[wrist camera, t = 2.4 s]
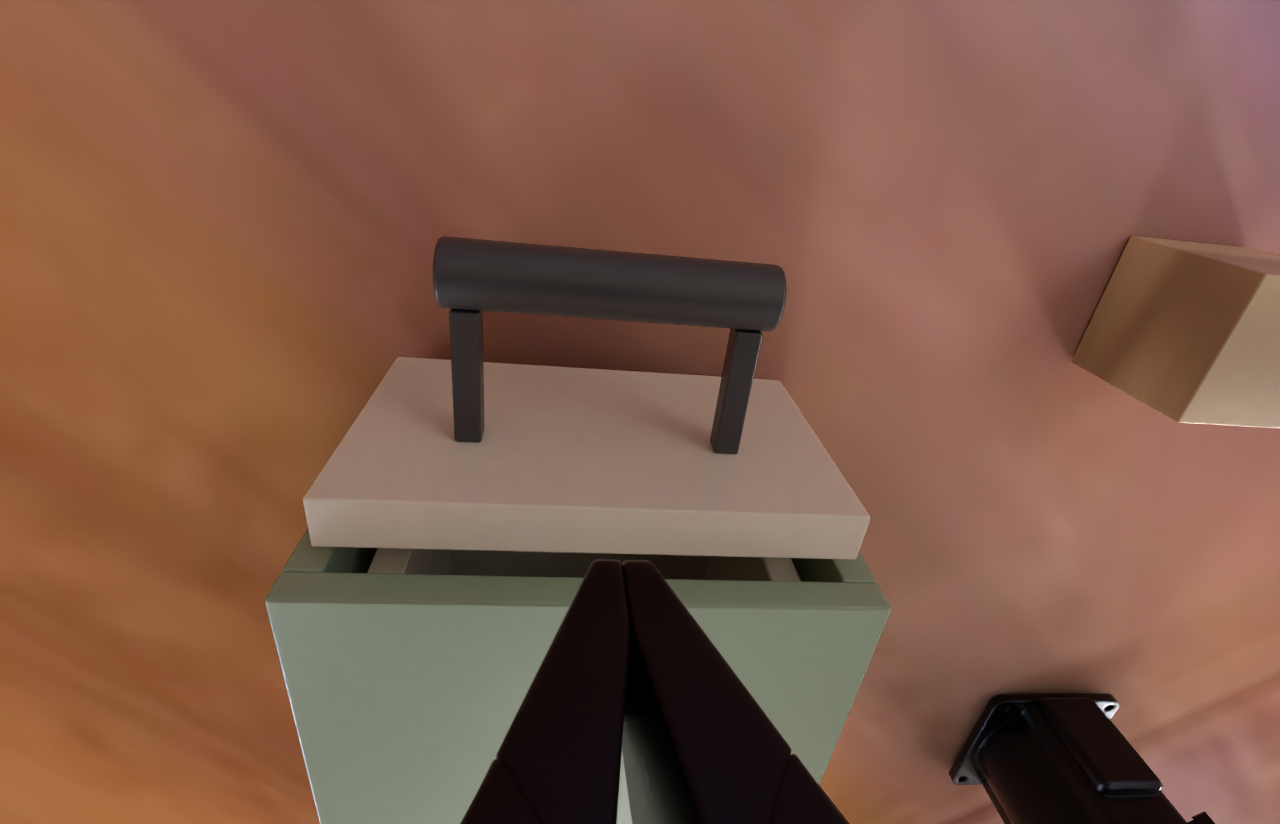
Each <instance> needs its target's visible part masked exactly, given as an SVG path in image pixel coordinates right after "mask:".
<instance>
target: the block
mask: <svg viewBox="0 0 1280 824" xmlns="http://www.w3.org/2000/svg"><path fill="white" fill-rule="evenodd" d="M1072 362H1073V363H1074V364H1076V365H1078V366H1080V367H1081V368H1083V369H1085V370H1086V371H1088V372H1090V373H1092V374H1093V375H1095V376H1097V377H1099V378H1100V379H1102V380H1104V381H1106V382H1107V383H1109V384H1111V385H1113V386H1114V387H1116V388H1118V389H1120V390H1121V391H1123V392H1125V393H1127V394H1128V395H1130V396H1132V397H1134V398H1135V399H1137V400H1139V401H1141V402H1142V403H1144V404H1146V405H1148V406H1149V407H1151V408H1153V409H1155V410H1156V411H1158V412H1160V413H1162V414H1163V415H1165V416H1167V417H1169V418H1170V419H1172V420H1174V421H1176V422H1178V423H1195V424H1212V425H1230V426H1247V427H1264V428H1280V255H1278V254H1274V253H1270V252H1266V251H1262V250H1258V249H1254V248H1250V247H1240V246H1230V245H1220V244H1210V243H1200V242H1189V241H1179V240H1169V239H1159V238H1149V237H1139V236H1131V237H1130V239H1129V241H1128V243H1127V245H1126V247H1125V249H1124V252H1123V254H1122V256H1121V258H1120V260H1119V262H1118V264H1117V266H1116V268H1115V270H1114V273H1113V275H1112V277H1111V279H1110V281H1109V283H1108V285H1107V287H1106V289H1105V292H1104V294H1103V296H1102V298H1101V300H1100V302H1099V304H1098V306H1097V308H1096V310H1095V313H1094V315H1093V317H1092V319H1091V321H1090V323H1089V325H1088V327H1087V329H1086V332H1085V334H1084V336H1083V338H1082V340H1081V342H1080V344H1079V346H1078V348H1077V350H1076V353H1075V355H1074V357H1073V359H1072Z"/></svg>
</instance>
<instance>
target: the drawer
mask: <svg viewBox="0 0 1280 824" xmlns="http://www.w3.org/2000/svg"><path fill="white" fill-rule="evenodd" d="M433 288H434V294H435V298H436V301H437V304H438V305H439V306H440V307H442V308H451V310H450V312H449V325H450V348H451V360H442V359H426V358H410V357H397V358H396V360H395V361H394V363H393V364H392V366H391V367H390V369H389V370H388V372H387V373H386V375H385V376H384V378H383V379H382V381H381V382H380V384H379V385H378V387H377V388H376V390H375V391H374V393H373V394H372V396H371V397H370V399H369V400H368V402H367V403H366V405H365V406H364V408H363V409H362V411H361V412H360V414H359V415H358V417H357V418H356V420H355V421H354V423H353V424H352V426H351V427H350V429H349V430H348V432H347V433H346V435H345V436H344V438H343V439H342V441H341V442H340V444H339V445H338V447H337V448H336V449H335V451H334V452H333V454H332V455H331V457H330V458H329V460H328V461H327V463H326V464H325V466H324V467H323V469H322V470H321V472H320V473H319V475H318V476H317V478H316V479H315V481H314V482H313V484H312V485H311V487H310V488H309V490H308V491H307V493H306V494H305V496H304V497H303V503H304V508H305V513H306V519H307V524H308V529H309V535H310V540H311V545H312V546H314V547H354V548H378V549H377V551H376V553H375V556H374V558H373V560H372V563H371V565H370V567H369V569H368V572H367V573H379V574H431V575H483V576H536V577H585V575H586V573H587V571H588V569H589V567H590V565H591V563H592V562H593V561H594V560H596V559H606V560H619V561H620V562H621V563H622V564H623V562H624V561H626V560H647V561H650V562H652V563H653V564H654V565H655V567H656V568H657V569H658V571H659V572H660V573H661V575H662V576H663V577H664V579H693V580H745V581H798V582H801V580H800V578H799V575H798V573H797V571H796V568H795V566H794V564H793V562H792V559H791V558H812V559H853V560H854V559H856V558H857V555H858V552H859V549H860V547H861V544H862V541H863V538H864V535H865V532H866V530H867V527H868V524H869V521H870V515H869V514H868V512H867V511H866V509H865V508H864V506H863V505H862V503H861V502H860V500H859V499H858V497H857V496H856V494H855V493H854V491H853V490H852V488H851V487H850V485H849V484H848V482H847V481H846V479H845V478H844V476H843V475H842V473H841V472H840V470H839V469H838V467H837V466H836V464H835V463H834V461H833V460H832V458H831V457H830V455H829V454H828V452H827V451H826V449H825V448H824V446H823V445H822V443H821V442H820V440H819V439H818V437H817V436H816V434H815V433H814V431H813V430H812V428H811V427H810V425H809V424H808V422H807V421H806V419H805V418H804V416H803V415H802V413H801V412H800V410H799V408H798V407H797V405H796V404H795V402H794V401H793V399H792V398H791V396H790V395H789V393H788V392H787V390H786V389H785V387H784V386H783V384H782V383H781V381H779V380H767V379H754V374H755V369H756V365H757V360H758V355H759V351H760V346H761V341H762V336H763V334H762V332H761V331H771V330H774V329H775V328H776V327H777V326H778V324H779V322H780V320H781V317H782V314H783V311H784V306H785V301H786V278H785V273H784V271H783V269H782V268H781V267H780V266H778V265H771V264H760V263H748V262H736V261H725V260H713V259H701V258H690V257H678V256H666V255H655V254H643V253H631V252H620V251H608V250H596V249H585V248H573V247H561V246H550V245H538V244H526V243H515V242H503V241H491V240H480V239H468V238H457V237H445V236H444V237H441V238H439V239H438V241H437V244H436V247H435V251H434V258H433ZM483 311H494V312H508V313H522V314H536V315H550V316H564V317H578V318H592V319H605V320H619V321H633V322H647V323H661V324H675V325H689V326H703V327H717V328H731V329H730V334H729V340H728V345H727V351H726V356H725V361H724V367H723V372H722V377H718V376H702V375H686V374H670V373H653V372H637V371H621V370H605V369H588V368H572V367H556V366H540V365H523V364H507V363H491V362H483Z"/></svg>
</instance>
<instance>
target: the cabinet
mask: <svg viewBox="0 0 1280 824" xmlns="http://www.w3.org/2000/svg"><path fill="white" fill-rule="evenodd" d="M377 549H378V548H354V547H314V546H312V545H311V540H310V535H309V529H307V530H306V532H305V534H304V535H303V537H302V539H301V540H300V542H299V543H298V545H297V547H296V548H295V550H294V552H293V553H292V555H291V556H290V558H289V560H288V561H287V563H286V565H285V566H284V568H283V572H282V573H281V574H280V575H279V577H278V578H277V580H276V582H275V583H274V585H273V586H272V588H271V590H270V591H269V593H268V595H267V596H266V598H265V604H266V608H267V612H268V616H269V620H270V624H271V628H272V632H273V636H274V640H275V644H276V648H277V653H278V657H279V661H280V665H281V669H282V673H283V677H284V681H285V685H286V689H287V693H288V697H289V701H290V705H291V709H292V713H293V717H294V721H295V725H296V729H297V733H298V737H299V741H300V745H301V749H302V753H303V757H304V761H305V765H306V769H307V773H308V777H309V781H310V785H311V789H312V793H313V797H314V801H315V805H316V809H317V813H318V817H319V821H320V824H460V823H461V821H462V819H463V817H464V815H465V814H466V812H467V810H468V808H469V806H470V804H471V802H472V801H473V799H474V797H475V795H476V793H477V791H478V789H479V787H480V785H481V783H482V781H483V779H484V777H485V775H486V773H487V771H488V769H489V767H490V765H491V763H492V761H493V760H495V759H496V755H497V752H498V750H499V748H500V746H501V744H502V742H503V740H504V738H505V736H506V734H507V732H508V730H509V728H510V726H511V724H512V722H513V720H514V718H515V716H516V714H517V712H518V710H519V708H520V706H521V704H522V702H523V700H524V698H525V696H526V694H527V692H528V690H529V688H530V686H531V684H532V682H533V679H534V677H535V675H536V673H537V671H538V669H539V667H540V665H541V663H542V661H543V659H544V657H545V655H546V653H547V651H548V649H549V647H550V645H551V643H552V641H553V639H554V637H555V635H556V633H557V631H558V629H559V627H560V625H561V623H562V621H563V619H564V617H565V615H566V613H567V611H568V609H569V607H570V605H571V603H572V601H573V599H574V597H575V595H576V593H577V591H578V589H579V587H580V585H581V583H582V581H583V579H584V577H536V576H483V575H431V574H379V573H367V572H368V569H369V567H370V565H371V563H372V560H373V558H374V556H375V553H376V551H377ZM791 559H792V562H793V564H794V566H795V568H796V571H797V573H798V575H799V578H800V580H801V582H798V581H745V580H693V579H665V580H666V581H667V583H668V584H669V585H670V587H671V588H672V589H673V591H674V592H675V593H676V595H677V596H678V597H679V599H680V600H681V601H682V603H683V604H684V605H685V607H686V608H687V610H688V611H689V612H690V614H691V615H692V616H693V618H694V619H695V620H696V622H697V623H698V624H699V626H700V627H701V628H702V630H703V631H704V632H705V634H706V635H707V636H708V638H709V639H710V640H711V642H712V643H713V644H714V646H715V647H716V648H717V650H718V651H719V652H720V654H721V655H722V656H723V658H724V659H725V660H726V662H727V663H728V664H729V666H730V667H731V668H732V670H733V671H734V672H735V674H736V675H737V676H738V678H739V679H740V680H741V682H742V683H743V684H744V686H745V687H746V688H747V690H748V691H749V693H750V694H751V695H752V697H753V698H754V699H755V701H756V702H757V703H758V705H759V706H760V707H761V709H762V710H763V711H764V713H765V714H766V715H767V717H768V718H769V719H770V721H771V722H772V723H773V725H774V726H775V727H776V729H777V730H778V731H779V733H780V734H781V735H782V737H783V738H784V739H785V741H786V742H787V743H788V745H789V746H790V747H791V754H796V755H797V756H798V758H799V759H800V760H801V762H802V763H803V765H804V766H805V767H806V769H807V770H808V771H809V773H810V774H811V775H812V777H813V778H814V779H815V781H816V782H817V783H818V784H819V785H820V782H821V780H822V777H823V775H824V772H825V770H826V768H827V765H828V763H829V760H830V758H831V755H832V753H833V750H834V748H835V746H836V743H837V741H838V738H839V736H840V733H841V731H842V728H843V726H844V724H845V721H846V719H847V716H848V714H849V711H850V709H851V706H852V704H853V702H854V699H855V697H856V694H857V692H858V689H859V687H860V684H861V682H862V680H863V677H864V675H865V672H866V670H867V667H868V665H869V662H870V660H871V658H872V655H873V653H874V650H875V648H876V645H877V643H878V641H879V638H880V636H881V633H882V631H883V628H884V626H885V623H886V621H887V619H888V616H889V614H890V611H891V607H890V605H889V603H888V601H887V599H886V598H885V596H884V594H883V593H882V591H881V589H880V588H879V586H878V585H877V584H876V580H875V578H874V576H873V575H872V573H871V571H870V570H869V568H868V566H867V565H866V563H865V561H864V559H863V558H862V556H861V554H860V553H859V552H858V555H857V558H856V559H854V560H853V559H812V558H791ZM616 824H632V819H631V812H630V804H629V797H628V790H627V782H626V775H625V768H624V760H623V753H622V754H621V768H620V781H619V795H618V809H617V822H616Z"/></svg>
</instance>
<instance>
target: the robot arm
mask: <svg viewBox="0 0 1280 824" xmlns="http://www.w3.org/2000/svg"><path fill="white" fill-rule="evenodd" d="M1119 706H1120V704H1119V702H1118V701H1117V700H1116V699H1115V698H1114V697H1113V696H1112V695H1111V694H1002V695H997V696H995V697H993V698H992V699H991V700H990V701H989V702H988V704H987V706H986V708H985V709H984V711H983V713H982V715H981V717H980V718H979V720H978V722H977V724H976V725H975V727H974V729H973V731H972V732H971V734H970V736H969V738H968V739H967V741H966V743H965V745H964V746H963V748H962V750H961V752H960V754H959V755H958V757H957V759H956V761H955V762H954V764H953V766H952V768H951V769H950V771H949V775H950V777H951V779H952V781H953V783H954V784H956V785H978V784H982V785H983V786H984V788H985V790H986V792H987V793H988V795H989V797H990V799H991V800H992V802H993V804H994V806H995V807H996V809H997V811H998V813H999V814H1000V816H1001V818H1002V820H1003V821H1004V823H1005V824H1215V823H1214V822H1213V821H1212V819H1211V818H1210V817H1209V816H1208V815H1207V814H1206V812H1205V811H1204V812H1202V813H1200V814H1198V815H1196V816H1193V817H1192V818H1193V819H1194V820H1192V821H1190V822H1188V823H1187V822H1186V821H1185V820H1184V818H1183V817H1182V816H1181V815H1180V814H1179V812H1178V811H1177V810H1176V809H1175V807H1174V806H1173V805H1172V804H1171V803H1170V801H1169V800H1168V799H1167V798H1166V796H1165V795H1164V794H1163V793H1162V792H1161V789H1162V786H1163V785H1162V783H1161V782H1160V780H1159V779H1158V777H1157V776H1156V775H1155V774H1154V773H1153V771H1152V770H1151V769H1150V768H1149V766H1148V765H1147V764H1146V763H1145V762H1144V760H1143V759H1142V758H1141V757H1140V756H1139V754H1138V753H1137V752H1136V751H1135V750H1134V748H1133V747H1132V746H1131V745H1130V744H1129V742H1128V741H1127V740H1126V739H1125V737H1124V736H1123V735H1122V734H1121V733H1120V731H1119V730H1118V729H1117V728H1116V727H1115V725H1114V724H1113V723H1112V722H1111V721H1110V719H1111V718H1112V716H1113V715H1114V714H1115V712H1116V711H1117V709H1118V708H1119ZM622 753H623V760H624V768H625V775H626V782H627V790H628V797H629V804H630V812H631V819H632V824H849V823H848V821H847V820H846V819H845V818H844V816H843V815H842V814H841V812H840V811H839V810H838V809H837V807H836V806H835V805H834V804H833V802H832V801H831V800H830V798H829V797H828V796H827V795H826V793H825V792H824V791H823V790H822V788H821V787H820V786H819V784H818V783H817V782H816V781H815V779H814V778H813V777H812V775H811V774H810V773H809V771H808V770H807V769H806V767H805V766H804V765H803V763H802V762H801V760H800V759H799V758H798V756H797V755H796V754H791V747H790V746H789V745H788V743H787V742H786V741H785V739H784V738H783V737H782V735H781V734H780V733H779V731H778V730H777V729H776V727H775V726H774V725H773V723H772V722H771V721H770V719H769V718H768V717H767V715H766V714H765V713H764V711H763V710H762V709H761V707H760V706H759V705H758V703H757V702H756V701H755V699H754V698H753V697H752V695H751V694H750V693H749V691H748V690H747V688H746V687H745V686H744V684H743V683H742V682H741V680H740V679H739V678H738V676H737V675H736V674H735V672H734V671H733V670H732V668H731V667H730V666H729V664H728V663H727V662H726V660H725V659H724V658H723V656H722V655H721V654H720V652H719V651H718V650H717V648H716V647H715V646H714V644H713V643H712V642H711V640H710V639H709V638H708V636H707V635H706V634H705V632H704V631H703V630H702V628H701V627H700V626H699V624H698V623H697V622H696V620H695V619H694V618H693V616H692V615H691V614H690V612H689V611H688V610H687V608H686V607H685V605H684V604H683V603H682V601H681V600H680V599H679V597H678V596H677V595H676V593H675V592H674V591H673V589H672V588H671V587H670V585H669V584H668V583H667V581H666V580H665V579H664V577H663V576H662V575H661V573H660V572H659V571H658V569H657V568H656V567H655V565H654V564H653V563H652V562H650V561H647V560H626V561H624V562H623V564H622V563H621V562H620V561H619V560H606V559H596V560H594V561H593V562H592V563H591V565H590V567H589V569H588V571H587V573H586V575H585V577H584V579H583V581H582V583H581V585H580V587H579V589H578V591H577V593H576V595H575V597H574V599H573V601H572V603H571V605H570V607H569V609H568V611H567V613H566V615H565V617H564V619H563V621H562V623H561V625H560V627H559V629H558V631H557V633H556V635H555V637H554V639H553V641H552V643H551V645H550V647H549V649H548V651H547V653H546V655H545V657H544V659H543V661H542V663H541V665H540V667H539V669H538V671H537V673H536V675H535V677H534V679H533V682H532V684H531V686H530V688H529V690H528V692H527V694H526V696H525V698H524V700H523V702H522V704H521V706H520V708H519V710H518V712H517V714H516V716H515V718H514V720H513V722H512V724H511V726H510V728H509V730H508V732H507V734H506V736H505V738H504V740H503V742H502V744H501V746H500V748H499V750H498V752H497V755H496V759H495V760H493V761H492V763H491V765H490V767H489V769H488V771H487V773H486V775H485V777H484V779H483V781H482V783H481V785H480V787H479V789H478V791H477V793H476V795H475V797H474V799H473V801H472V802H471V804H470V806H469V808H468V810H467V812H466V814H465V815H464V817H463V819H462V821H461V823H460V824H616V822H617V809H618V795H619V781H620V768H621V754H622Z"/></svg>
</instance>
